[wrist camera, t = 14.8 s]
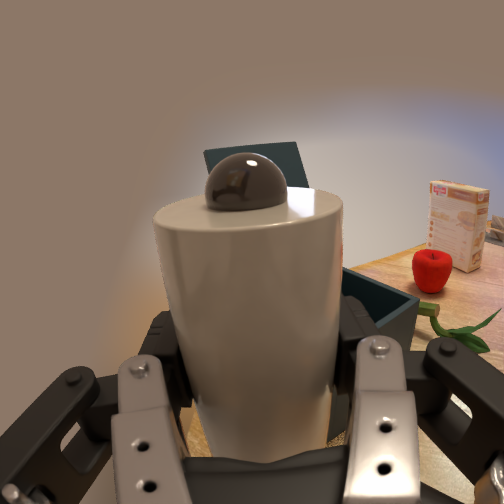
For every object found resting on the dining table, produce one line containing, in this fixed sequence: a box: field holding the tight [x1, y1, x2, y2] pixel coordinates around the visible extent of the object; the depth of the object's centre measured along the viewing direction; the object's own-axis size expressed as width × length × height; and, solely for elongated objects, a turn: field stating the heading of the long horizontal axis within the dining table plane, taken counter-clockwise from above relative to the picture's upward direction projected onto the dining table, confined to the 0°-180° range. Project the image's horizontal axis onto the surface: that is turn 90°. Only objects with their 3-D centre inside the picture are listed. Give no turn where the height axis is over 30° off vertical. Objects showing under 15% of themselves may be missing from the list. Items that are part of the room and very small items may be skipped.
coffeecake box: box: [426, 180, 489, 273], centre depth 65 cm, size 15×7×20 cm, turn 20°
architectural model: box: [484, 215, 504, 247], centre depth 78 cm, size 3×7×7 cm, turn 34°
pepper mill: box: [153, 153, 343, 463], centre depth 9 cm, size 5×5×12 cm
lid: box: [203, 142, 310, 189], centre depth 40 cm, size 16×14×1 cm
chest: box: [326, 267, 420, 443], centre depth 36 cm, size 16×14×13 cm
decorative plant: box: [418, 302, 502, 353], centre depth 46 cm, size 6×8×30 cm
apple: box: [412, 249, 453, 293], centre depth 56 cm, size 9×9×8 cm
